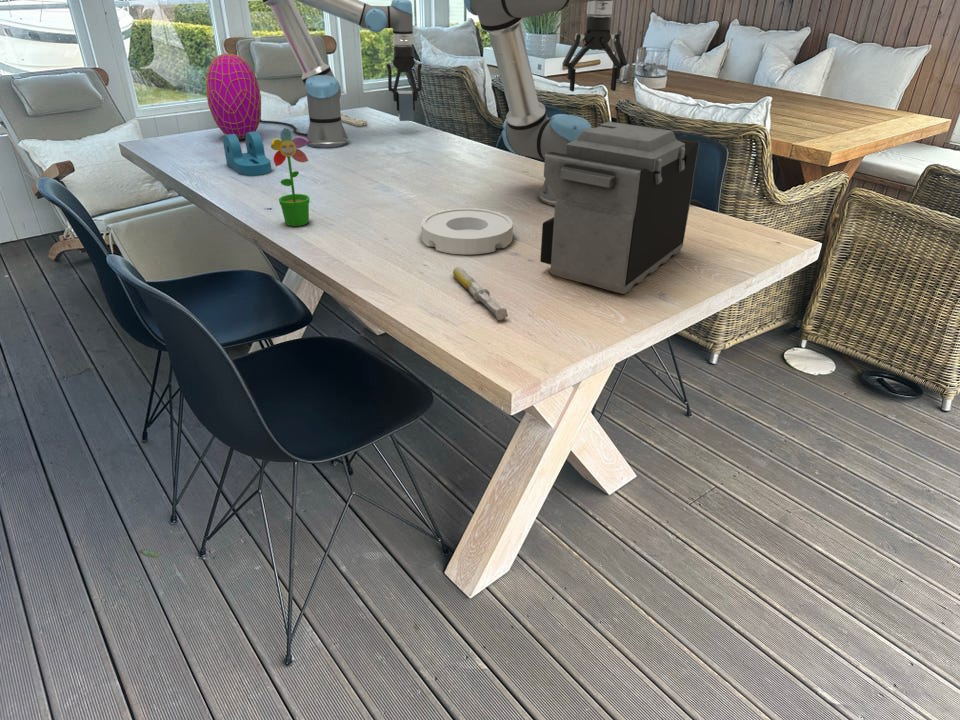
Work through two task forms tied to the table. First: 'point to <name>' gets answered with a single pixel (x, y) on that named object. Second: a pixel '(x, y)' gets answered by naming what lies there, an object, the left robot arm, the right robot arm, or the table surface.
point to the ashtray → (467, 231)
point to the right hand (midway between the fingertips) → (592, 90)
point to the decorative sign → (352, 120)
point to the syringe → (479, 293)
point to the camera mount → (246, 154)
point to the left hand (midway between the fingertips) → (405, 109)
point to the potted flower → (291, 178)
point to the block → (405, 106)
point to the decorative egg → (233, 95)
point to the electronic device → (618, 204)
